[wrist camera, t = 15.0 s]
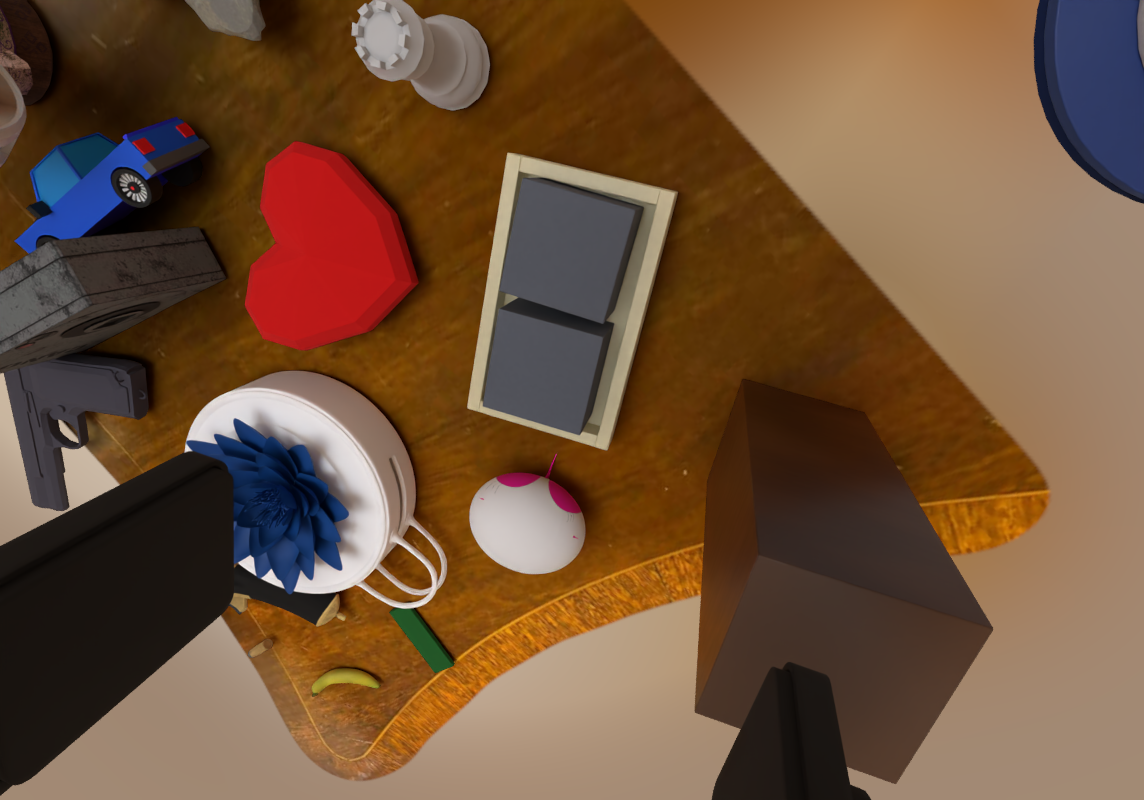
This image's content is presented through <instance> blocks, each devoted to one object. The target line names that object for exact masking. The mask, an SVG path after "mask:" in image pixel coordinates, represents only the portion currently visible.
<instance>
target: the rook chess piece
mask: <svg viewBox="0 0 1144 800" xmlns="http://www.w3.org/2000/svg"><path fill="white" fill-rule="evenodd" d="M358 12H359V13H360V14H361V16H360V19H359V21H358V23H357V24H356V23H353V22H352V36H355V37H356V42H357V47H355V49H356V51H357V53H358V54H359V56H360V58H361V59H362V60H363V62H364V63H365V65H366V67H367V68H368V70H370V71H371V72H372V73H373V74H375V75H376V76H377V77H379V78H381V79H385V80H389V81H396V80H400V79H403V80H407V81H409V80H410V81H411V83H412V85H413V86H414V88H415V90H416V91H417V93H418V94H419V95H421V96H422V97H423V98H424V99H426V100H427V101H428V102H429V103H431V104H433V105H436V106H437V107H440V108H444V109H448V110H452V111H453V110H457V109H462V108H466V107H468V106H469V105H471V104H472V103H473V102H474V101H476V100H477V99H478V98H479V97H480V95H481V93H482V92H483V90H484V88H485V86H486V84H487V82H488V75H489V69H490V61H489V56H488V50H487V46H486V44H485V42H484V41H483V39H482V37H481V35H480V34H479V32H478V30H476V29H475V28H474V27H472V26H471V25H470V24H469V23H467V22H466V21H465V20H461V19H458V18H456V17H452V16H448V15H443V14H441V15H437V16H433V17H429V18H426V19H424V20H423V19H422V18H420V17H419V16H418V15H417V14H415V12H414V10H413V9H412V8H411V7H410V6H409V5H408V4H406V3H405V2H404V1H402V0H373V1H372V2H371V3H370V4H369V5H368V4H366V3H365V4H364V5H363V6H362V7H361V8H360V9H359V10H358Z"/></svg>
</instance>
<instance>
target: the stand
mask: <svg viewBox="0 0 1144 800" xmlns="http://www.w3.org/2000/svg"><path fill="white" fill-rule="evenodd" d="M992 631H993V627H992V626H991V624H990V622H989V621H988V619H987V617H986V616H985V614H984V612H983V611H982V609H981V607H980V605H979V604H978V602H977V600H976V599H975V597H974V595H973V594H972V592H971V591H970V589H969V587H968V585H967V584H966V582H965V580H964V579H963V577H962V575H961V574H960V572H959V570H958V569H957V567H956V565H955V564H954V562H953V560H952V559H951V557H950V555H949V553H948V552H947V550H946V548H945V547H944V545H943V543H942V542H941V540H940V538H939V537H938V535H937V533H936V532H935V530H934V528H933V527H932V525H931V523H930V522H929V520H928V518H927V517H926V515H925V513H924V512H923V510H922V508H921V507H920V505H919V503H918V501H917V500H916V498H915V496H914V495H913V493H912V491H911V490H910V488H909V486H908V485H907V483H906V481H905V480H904V478H903V476H902V475H901V473H900V471H899V470H898V468H897V466H896V465H895V463H894V461H893V460H892V458H891V456H890V455H889V453H888V451H887V449H886V448H885V446H884V444H883V443H882V441H881V439H880V438H879V436H878V434H877V433H876V431H875V429H874V428H873V426H872V424H871V423H870V421H869V419H868V418H867V416H866V414H865V413H864V412H861V411H857V410H853V409H850V408H846V407H843V406H839V405H835V404H832V403H828V402H824V401H821V400H817V399H814V398H810V397H806V396H803V395H799V394H796V393H792V392H788V391H785V390H781V389H777V388H774V387H770V386H767V385H763V384H759V383H756V382H752V381H749V380H745V379H743V380H742V382H741V385H740V388H739V391H738V394H737V397H736V399H735V402H734V405H733V408H732V411H731V414H730V417H729V420H728V422H727V425H726V428H725V431H724V434H723V437H722V440H721V443H720V446H719V448H718V451H717V454H716V457H715V460H714V463H713V466H712V469H711V472H710V474H709V477H708V480H707V498H706V516H705V534H704V552H703V570H702V588H701V606H700V623H699V641H698V660H697V678H696V695H695V713H698V714H700V715H703V716H706V717H709V718H711V719H714V720H717V721H720V722H723V723H726V724H728V725H731V726H734V727H737V728H739V729H741V728H742V726H743V724H744V722H745V719H746V717H747V715H748V713H749V711H750V709H751V707H752V705H753V703H754V701H755V699H756V696H757V694H758V692H759V690H760V688H761V686H762V684H763V682H764V680H765V678H766V675H767V673H768V672H769V670H770V668H772V667H776V668H779V669H782V668H783V667H784V665H785V664H786V663H787V662H792V663H795V664H798V665H800V666H803V667H806V668H809V669H812V670H814V671H817V672H820V673H823V674H826V675H827V676H828V677H829V679H830V682H831V687H832V692H833V697H834V702H835V708H836V713H837V718H838V724H839V729H840V734H841V739H842V745H843V750H844V755H845V760H846V766H847V767H849V768H852V769H854V770H857V771H860V772H863V773H866V774H869V775H872V776H874V777H877V778H880V779H882V780H885V781H888V782H891V783H894V784H896V783H897V782H898V780H899V779H900V777H901V775H902V774H903V772H904V771H905V769H906V767H907V766H908V764H909V763H910V761H911V760H912V758H913V756H914V754H915V753H916V751H917V750H918V748H919V747H920V745H921V744H922V742H923V741H924V739H925V737H926V736H927V734H928V733H929V731H930V729H931V728H932V726H933V725H934V723H935V721H936V720H937V718H938V717H939V715H940V714H941V712H942V710H943V709H944V707H945V706H946V704H947V702H948V701H949V699H950V698H951V696H952V695H953V693H954V691H955V690H956V688H957V687H958V685H959V683H960V682H961V680H962V679H963V677H964V676H965V674H966V672H967V671H968V669H969V668H970V666H971V664H972V663H973V661H974V660H975V658H976V657H977V655H978V653H979V652H980V650H981V649H982V647H983V645H984V644H985V642H986V641H987V639H988V637H989V635H990V634H991V633H992Z"/></svg>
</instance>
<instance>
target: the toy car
mask: <svg viewBox="0 0 1144 800" xmlns="http://www.w3.org/2000/svg"><path fill="white" fill-rule="evenodd" d="M195 134H196V133H195V132H194V131H193V130H192V129H191V128H190V127H189V125H188V124H187V123H186V122H184V121H183V120H182V119H180V120H179V119H178V118H177V117H174V118H171V119H169V120H166V121H163V122H160V123H157V124H154V125H151V126H148V127H145V128H142V129H140V130H137V131H134V132H131V133H128V134H125V135H124V136H123V138H124V139H125V140H124V141H123V142H122V143H121V144H120V145H119V144H117V143H115V142H114V141H112V140H110V139H109V138H107V137H105V136H104V135H102V134H101V133H99V132H97V133H94V134H91V135H88V136H85V137H82V138H79V139H76V140H73V141H70V142H66V143H63V144H60V145H57V146H56V147H55V148H54V149H53V150H52V151H51V152H50V153H48V154H47V155H46V156H45V157H44V158H43V159H42V160H41V161H40V162H39V163H38V164H37V165H36V166H35V167H34V168H33V169H32V170H31V171H30V176H31V180H32V184H33V187H34V191H35V195H36V199H37V203H34V204H32V205H29V206H28V207H27V208H26V209H27V210H29V211H30V212H31V213H32V214H33V215H34V216H35V217H36V218H37V219H36V220H35V222H34V223H33V225H32V226H30V227H29V228H28V229H27V230H26V231H25V232H24V233H23V234H22V235H21V236H20V237H18V238H17V239H16V240H15V242H16V243H17V244H19V245H20V246H21V247H22V248H23V249H24V250H25V251H27V252H28V253H29V254H30V253H31V252H33V251H35V250H36V249H38V248H39V247H41V246H43V245H44V244H46V243H48V242H49V241H52V240H61V239H72V238H82V237H93V236H104V235H114V234H125V233H128V227H127V225H126V223H125V222H124V220H123V219H124V218H125V217H126V216H128V215H129V214H130V213H131V212H132V211H133V210H135V209H136V208H137V207H138V208H143V207H146V206H148V205H150V204H152V203H154V202H156V201H157V200H159V199H160V198H161V196H162V193H163V188H162V186H163V185H165V184H166V183H167V182H168V181H169V182H170V183H172V184H174V185H177V186H187V185H189V184H191V183H193V182H195V181H197V180H199V179H200V178H201V176H202V172H203V170H202V165H201V162H200V160H199V159H198V156H199V155H200V154H202V153H203V152H204V151H206V150H207V149H208V148H209V146H208V144H207V143H206V142H205V141H204V140H203V139H200V140H199V138H198V137H197V136H196V135H195Z"/></svg>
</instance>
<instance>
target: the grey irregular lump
mask: <svg viewBox="0 0 1144 800" xmlns="http://www.w3.org/2000/svg"><path fill="white" fill-rule="evenodd" d="M185 1H186V2H187V3H188V4H189V5H190V6H191V7H192V8H193V9H194V10H195V12H196V13H197V15H198V16H199V17H200V19H201V20H202V21H203V22H204V24H205V25H206V26H207V27H208V28H209V29H210V30H211V31H214V32H223V33H225V34H227V35H229V36H230V35H235V36H239V37H242V38H246V39H249V40H253V41H258V40H261V31H262V30H263V29H264V28H265V26H266V25H265V22H264V19H263V16H262V13H261V9H260V6H259V0H185Z"/></svg>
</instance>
